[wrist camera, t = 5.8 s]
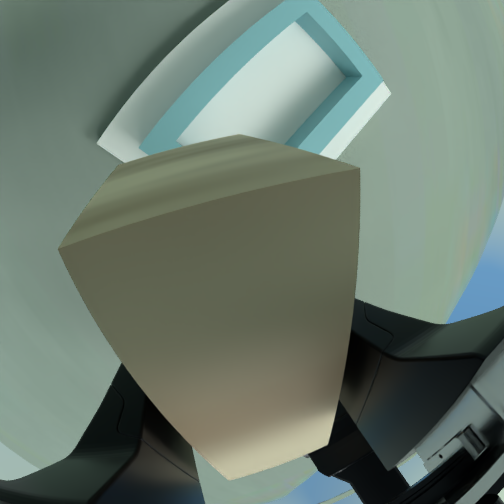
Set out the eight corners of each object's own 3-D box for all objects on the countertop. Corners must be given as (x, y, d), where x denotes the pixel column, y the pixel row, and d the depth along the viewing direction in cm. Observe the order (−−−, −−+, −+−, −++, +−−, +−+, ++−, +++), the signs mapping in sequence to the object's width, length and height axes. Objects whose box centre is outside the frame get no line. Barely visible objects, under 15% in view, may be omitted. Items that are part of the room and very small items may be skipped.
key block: (272, 345, 14) (327, 444, 9) (196, 370, 13) (229, 480, 8) (239, 133, 9) (359, 168, 4) (117, 165, 8) (57, 249, 3)
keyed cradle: (383, 93, 20) (407, 94, 17) (251, 248, 23) (264, 266, 20) (273, -28, 12) (291, -44, 10) (99, 142, 15) (89, 146, 13)
